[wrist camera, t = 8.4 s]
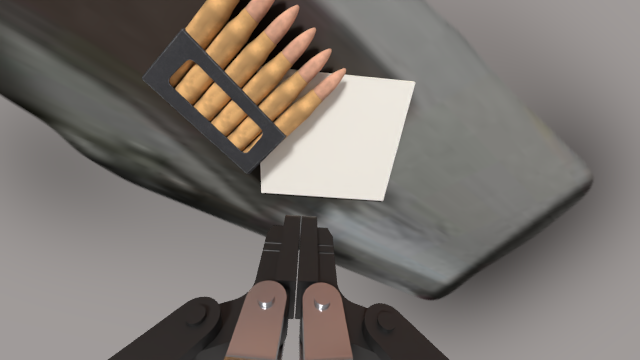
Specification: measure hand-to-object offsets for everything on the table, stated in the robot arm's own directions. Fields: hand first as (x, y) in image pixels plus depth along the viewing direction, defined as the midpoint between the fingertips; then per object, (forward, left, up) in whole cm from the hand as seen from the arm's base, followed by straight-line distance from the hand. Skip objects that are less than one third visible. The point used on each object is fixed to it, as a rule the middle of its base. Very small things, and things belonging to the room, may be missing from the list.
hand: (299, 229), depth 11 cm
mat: (+2, 0, -13) cm, 13 cm away
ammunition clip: (-9, +1, -11) cm, 14 cm away
